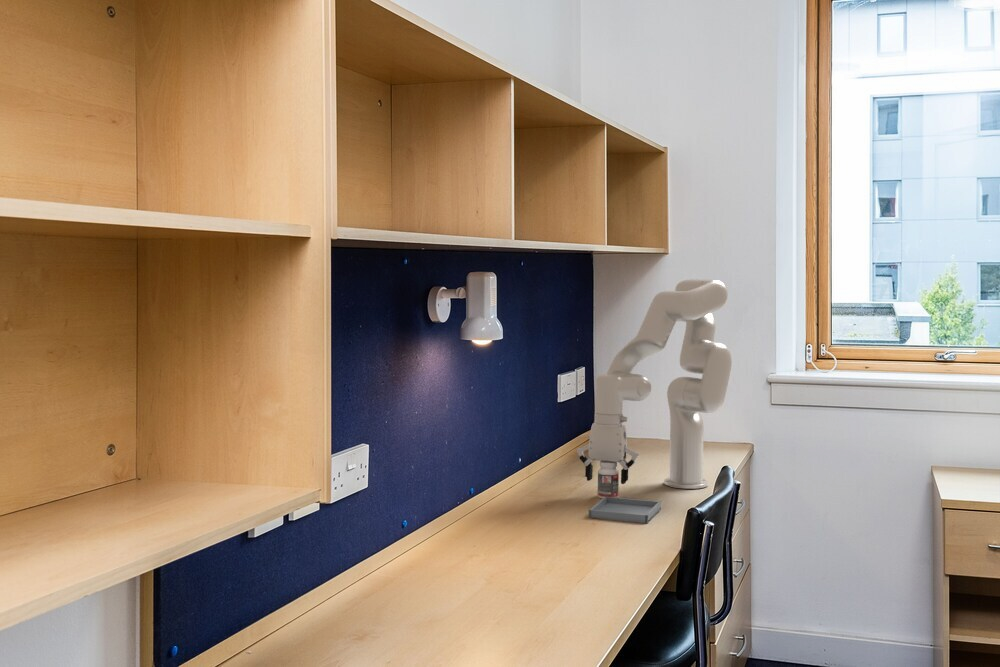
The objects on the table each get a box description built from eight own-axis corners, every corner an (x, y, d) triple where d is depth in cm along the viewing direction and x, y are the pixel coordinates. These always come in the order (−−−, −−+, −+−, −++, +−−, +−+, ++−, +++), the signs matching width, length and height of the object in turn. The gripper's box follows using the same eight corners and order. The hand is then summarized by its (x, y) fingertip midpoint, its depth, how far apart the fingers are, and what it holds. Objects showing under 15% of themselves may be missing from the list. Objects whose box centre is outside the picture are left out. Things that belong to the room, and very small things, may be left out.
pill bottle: (617, 500, 264) (617, 464, 264) (596, 499, 265) (597, 463, 265) (619, 495, 270) (619, 460, 269) (598, 494, 271) (599, 459, 270)
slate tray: (605, 503, 260) (605, 496, 260) (661, 509, 254) (661, 501, 254) (588, 517, 245) (588, 509, 245) (647, 523, 239) (647, 515, 239)
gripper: (642, 420, 267) (640, 482, 267) (581, 416, 273) (580, 476, 274) (635, 423, 260) (633, 487, 260) (574, 419, 266) (572, 481, 267)
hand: (606, 481), depth 267 cm, fingers open, 9 cm apart
